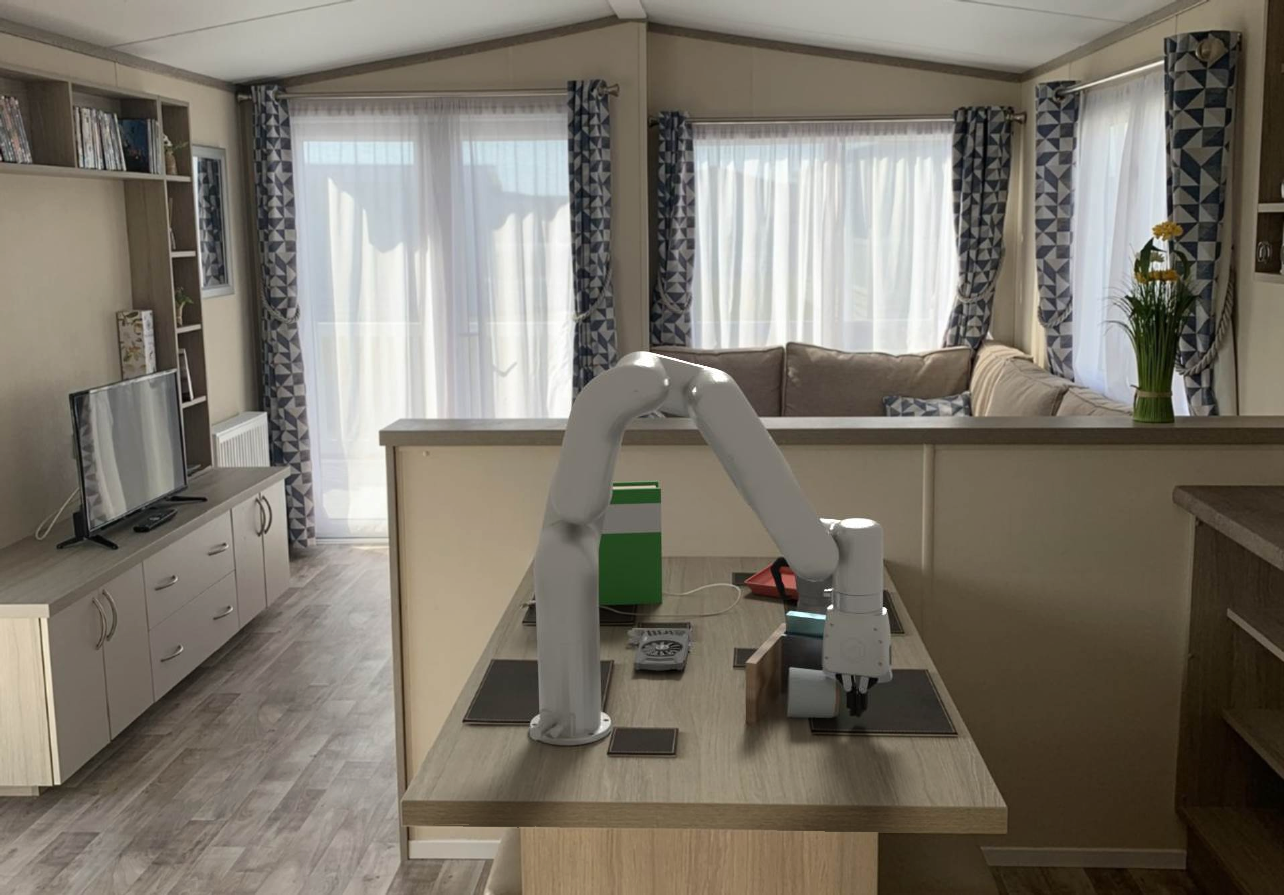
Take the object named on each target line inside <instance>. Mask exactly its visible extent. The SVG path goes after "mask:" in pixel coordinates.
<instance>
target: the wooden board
mask: <svg viewBox="0 0 1284 895" xmlns="http://www.w3.org/2000/svg"><path fill="white" fill-rule="evenodd" d="M782 634H786V622H782V623H781V624H780V625H779V626H778V628H776V629H775V631H774V632H773V633H772V634H771V635H770V636H769V637H768V638H767V639H766V640H765V641H764V642H763V644H761V646H759V648H758V649H756V651H754V653H753V654H752V655H751V656H750V657H749V659H747V660H746V661H745V724H748V725H753V726H756V725H757V724H758V723H759V721H761V719H762V718H763V716H764V715H765V713H767V711H768V710H769V708H771V707H772V705H773V704H774V703H775V701H776V700H777V698H779V696H780V695H781V694H782V693H781V646H782Z"/></svg>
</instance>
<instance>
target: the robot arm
mask: <svg viewBox="0 0 1284 895" xmlns="http://www.w3.org/2000/svg"><path fill="white" fill-rule="evenodd" d="M739 386H740V385H738V383H737V382H736V380H734V378H733V377H732V376H731V375H730V374H728V373H727V372H725V371H723V370H719V369H717V368H713V367H708V366H704V365H700V364H695V363H692V362H688V361H684V360H680V359H677V358H673V357H668V356H666V355H665V356H664V355H661V354H657V353H653V352H649V351H634V352H630V353H628V354H625V355H623V357H621V359H620V360H618V361H617V363H616V364H615V366H613V367H611V368H609V369H607V370H605V371H602V372H601V373H599V374H597V375H596V376H595V377H593V378H592V379H591V380H589V382H587V384H586V385H585V386H583V388H582V389H581V390H580V391H579V393H578V395H577V396H576V398H575V400H574V402H573V404H572V407H571V409H570V412H569V415H568V420H567V423H566V428H565V431H564V434H563V435H564V436H563V440H562V443H561V449H560V452H559V453H560V454H559V455H558V456H559V458H558V462H557V464H556V466H555V467H554V469H553V472H552V476H551V479H550V485H549V490H548V495H547V500H546V505H545V509H544V514H543V520H542V525H541V530H540V534H539V539H538V544H537V546H536V550H535V555H534V560H533V585H534V587H533V588H534V598H535V614H536V615H535V617H536V640H537V642H536V644H537V665H538V666H537V672H538V676H537V677H538V702H539V703H538V704H539V708H538V710H539V714H537V715H535V716H534V717H533V718H532V719H531V720H530V723H529V736H530V737H531V739H533V740H535V741H537V740H538V741H540V742H541V743H546V744H550V745H554V746H556V745H557V746H579V745H585V744H590V743H593V742H596V741H599V740H601V739H603V738H605V737H606V736H608V734H609V733H610V732H611V731H612V725H613V724H612V718H611V717H610V716H609V715H608V714H606V713H605V712H603V711H602V693H601V692H602V686H601V685H602V683H601V640H600V639H601V635H600V632H601V631H600V605H599V590H598V582H599V545H600V539H601V534H602V529H603V525H604V520H605V515H606V511H607V508H608V506H609V504H610V501H611V498H612V493H613V482H614V479H615V478H614V477H615V473H616V471H615V470H616V468H617V463H618V459H619V458H618V457H619V453H620V451H621V446H622V441H623V438H624V434H625V431H626V429H627V428H628V427H629V425H630V424H631V423H633V421H634V420H635V419H637V418H639V417H642V416H643V417H644V416H645V415H646V416H647V415H649V414H652V413H654V412H657V411H659V412H663V413H667V414H671V415H676V416H680V417H685V418H690V419H691V420H692V422H693V424H694V425H695V428H697V430H698V431H699V433H700V434H701V436H702V438H703V439H704V440H705V442H706V443H707V445H708V446H709V448H710V449H711V451H712V452H713V454H714V455H715V457H716V459H717V460H718V461H719V463H720V464H721V466H722V468H723V470H724V471H725V473H726V474H727V475H728V477H729V478H730V480H731V482H732V484H733V485H734V486H735V488H736V490H737V492H738V493H739V495H740V496H741V497H742V498H743V500H744V501H745V502H746V504H747V505H748V506H749V508H750V509H751V510H752V511H753V513H754V514H755V515H756V517H757V519H758V520H759V521H760V523H761V524H762V527H764V529H765V531H766V532H767V534H768V535H769V537H770V539H771V540H772V541H773V543H774V544H775V546H776V548H777V550H778V551H779V552H780V553H781V555H782V557H784V558H785V560H786V561H787V563H788V565H789V566H790V568H791V569H792V570H793V572H794V573H795V574H796V575H798V576H799V577H800V578H802V579H804V580H808V581H820V580H824V579H826V578H828V577H829V576H830V575H831V574H832V573H833V588H832V589H829V590H824V598H828V599H829V600H831V602H832V605H830V606H829V607H828V608H827V612H826V618H825V624H824V633H823V646H822V666H823V673H824V674H826V675H828V676H831V677H835V678H836V679H837V680H838V681H839V682H840V685H842V686H843V690H844V691H845V692H846V709H849V716H850V717H855V716H856V718H861V717H862V715H863V714H864V712H867V710H868V705H869V690H870V689H871V688H872V687H873V686H875V685H876V684H878V683H879V684H881V683H884V684H885V683H890V682H891V681H892V680H893V673H892V672H893V671H892V668H891V666H892V662H893V649H892V648H893V647H892V644H893V643H892V636H891V635H892V633H891V625H890V619H889V614H888V611H887V610H888V609H887V608H886V607H883V606H884V604H883V603H884V529H883V527H882V525H881V524H880V523H879V522H878V521H875V520H873V519H869V518H861V517H853V518H845V519H842V520H840V519H839V520H838V519H829V518H820V517H819V515H818V513H817V512H816V510H815V509H814V508H813V506H812V504H811V503H810V501H809V499H808V498H807V497H806V495H805V493H804V492H803V490H802V487H801V486H800V485H799V483H798V481H797V479H796V477H795V474H794V473H793V471H792V468H791V466H790V464H789V462H788V461H787V459H786V458H785V455H784V454H783V453H782V451H781V450H780V448H779V446H778V445H777V443H776V442H775V441H774V439H773V437H772V436H771V434H770V432H769V431H768V429H767V428H766V427H765V425H764V423H763V422H762V420H761V418H760V417H759V415H758V414H757V412H756V410H755V409H754V408H753V406H752V405H751V403H750V402H749V400H748V399H747V397H746V395H745V394H744V392H743V390H742V389H741V388H740V387H739ZM856 677H860V680H859V685H858V684H857V683H856Z"/></svg>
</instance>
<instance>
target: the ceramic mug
mask: <svg viewBox="0 0 1284 895" xmlns="http://www.w3.org/2000/svg"><path fill="white" fill-rule="evenodd" d="M786 695H787V698H786V717H788V718H805V719H806V718H807V719H809V718H811V719H812V718H818V719H830V718H835V717H837V716H838V714H839V713H840V712H839V711H840V700H841V699H840V698H841V696H840V695H841V683H840V682H839V681H838V680H837V679H836V678H835V677H831V676H828V675H826V674H824V673H823V671H820V670H810V669H801V668H792V667H791V668H789V672H788V692H787V694H786Z"/></svg>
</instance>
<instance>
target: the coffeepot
mask: <svg viewBox="0 0 1284 895" xmlns="http://www.w3.org/2000/svg"><path fill="white" fill-rule="evenodd" d="M772 563H773V564H772ZM772 563H771V564H772V565H771V564H770V565H771V569H770V570H771V573H772V576H773V579H774V581H775V584H776V587H777V590H778V593H779V596H780V597H779V599H781V600H783V601H786V600H789V601H790V600H792V599H791V597H792V595H789V594H786V593H785V586H784V584H783V582H782V575H781V572H780V570H779V569H780V568H781V567H790V566H789V565H788V563H787V561H786V560H785V558H784V557H783V556H778V557H777V558H776V559H775V560H774V561H773V562H772ZM794 575H795V582H796V589H797V593H798V594H799V600H797V606H796V610H795V612H803V613H812V614H821V615H826V612H827V608H828V607H829V606H830V605H832V602H831V600H829V599H828V598H824V590H829V589H832V588H833V573H832V574H831V575H830V576H829V577H828V578H826V579H824V580H820V581H808V580H804V579H802V578H800V577H799V576H798V575H796V574H795V573H794Z"/></svg>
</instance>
